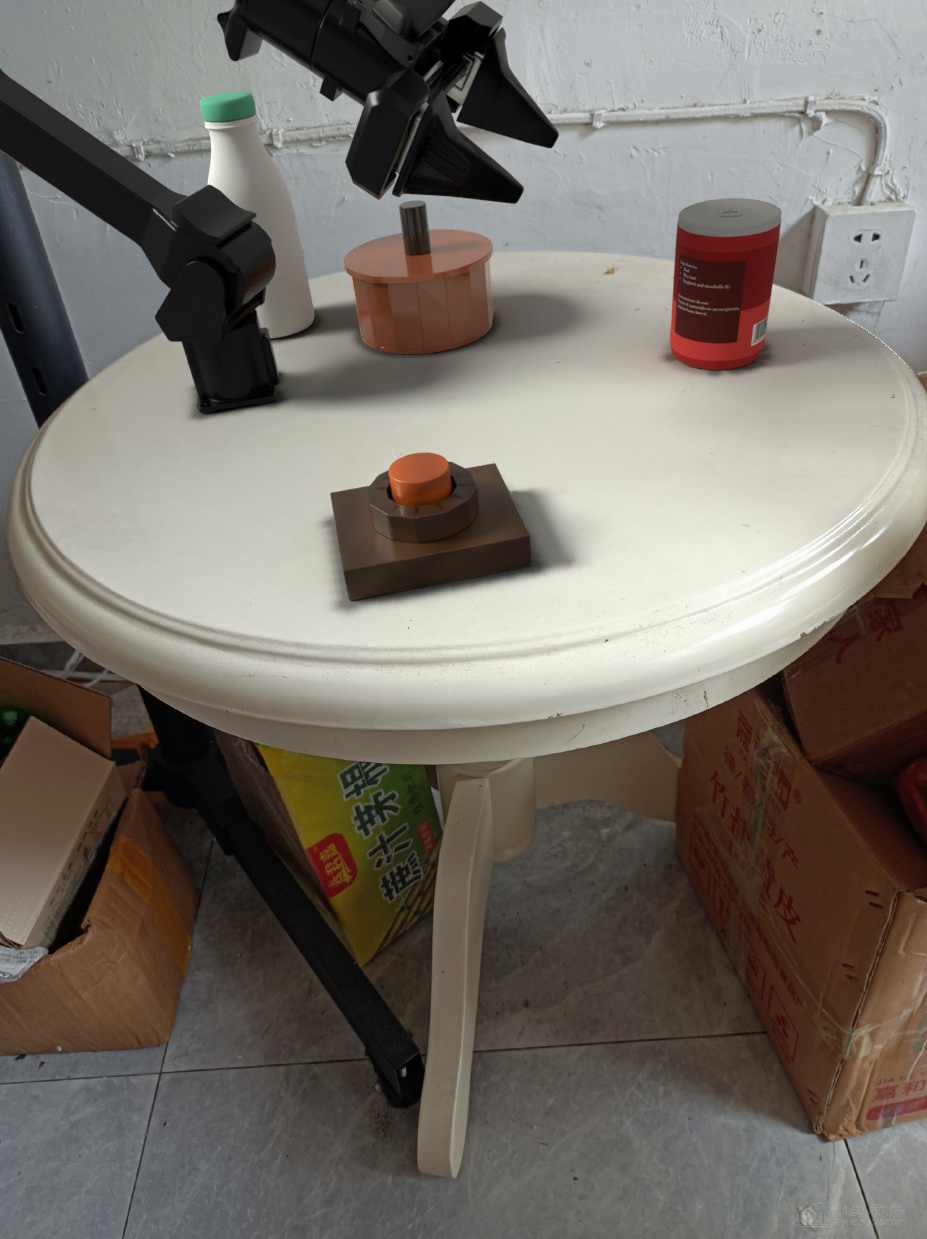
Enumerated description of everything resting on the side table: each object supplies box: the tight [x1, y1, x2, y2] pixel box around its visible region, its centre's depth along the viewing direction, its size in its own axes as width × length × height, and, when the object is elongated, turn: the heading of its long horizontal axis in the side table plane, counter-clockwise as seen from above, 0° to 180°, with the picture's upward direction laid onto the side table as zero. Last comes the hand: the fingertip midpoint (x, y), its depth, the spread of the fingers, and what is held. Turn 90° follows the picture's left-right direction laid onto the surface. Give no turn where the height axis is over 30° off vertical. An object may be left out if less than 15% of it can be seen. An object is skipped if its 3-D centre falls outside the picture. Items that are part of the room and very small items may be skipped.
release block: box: [329, 461, 533, 601], centre depth 53 cm, size 11×9×4 cm
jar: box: [350, 258, 494, 355], centre depth 80 cm, size 13×13×6 cm
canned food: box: [669, 197, 782, 371], centre depth 69 cm, size 8×8×11 cm
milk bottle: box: [199, 91, 316, 339], centre depth 80 cm, size 8×8×20 cm
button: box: [387, 452, 452, 507], centre depth 51 cm, size 4×4×2 cm
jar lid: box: [343, 200, 494, 284], centre depth 77 cm, size 14×14×5 cm
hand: (539, 167), depth 57 cm, fingers open, 9 cm apart
